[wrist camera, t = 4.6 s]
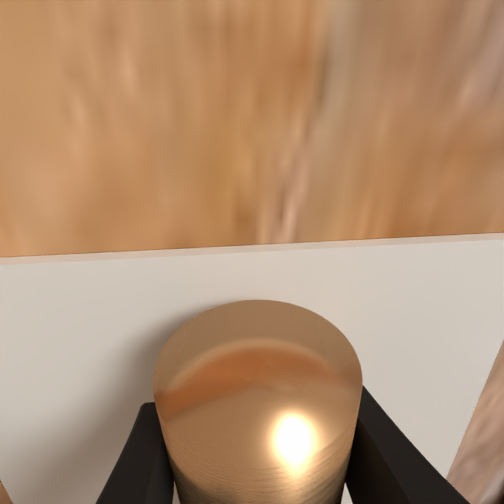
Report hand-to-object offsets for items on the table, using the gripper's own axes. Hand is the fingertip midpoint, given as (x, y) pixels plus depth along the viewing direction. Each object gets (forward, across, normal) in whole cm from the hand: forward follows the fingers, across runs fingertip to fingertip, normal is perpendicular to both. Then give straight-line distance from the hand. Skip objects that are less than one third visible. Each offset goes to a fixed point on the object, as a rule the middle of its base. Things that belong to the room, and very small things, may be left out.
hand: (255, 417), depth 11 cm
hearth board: (+3, 0, +10) cm, 10 cm away
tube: (+2, 0, +6) cm, 6 cm away
